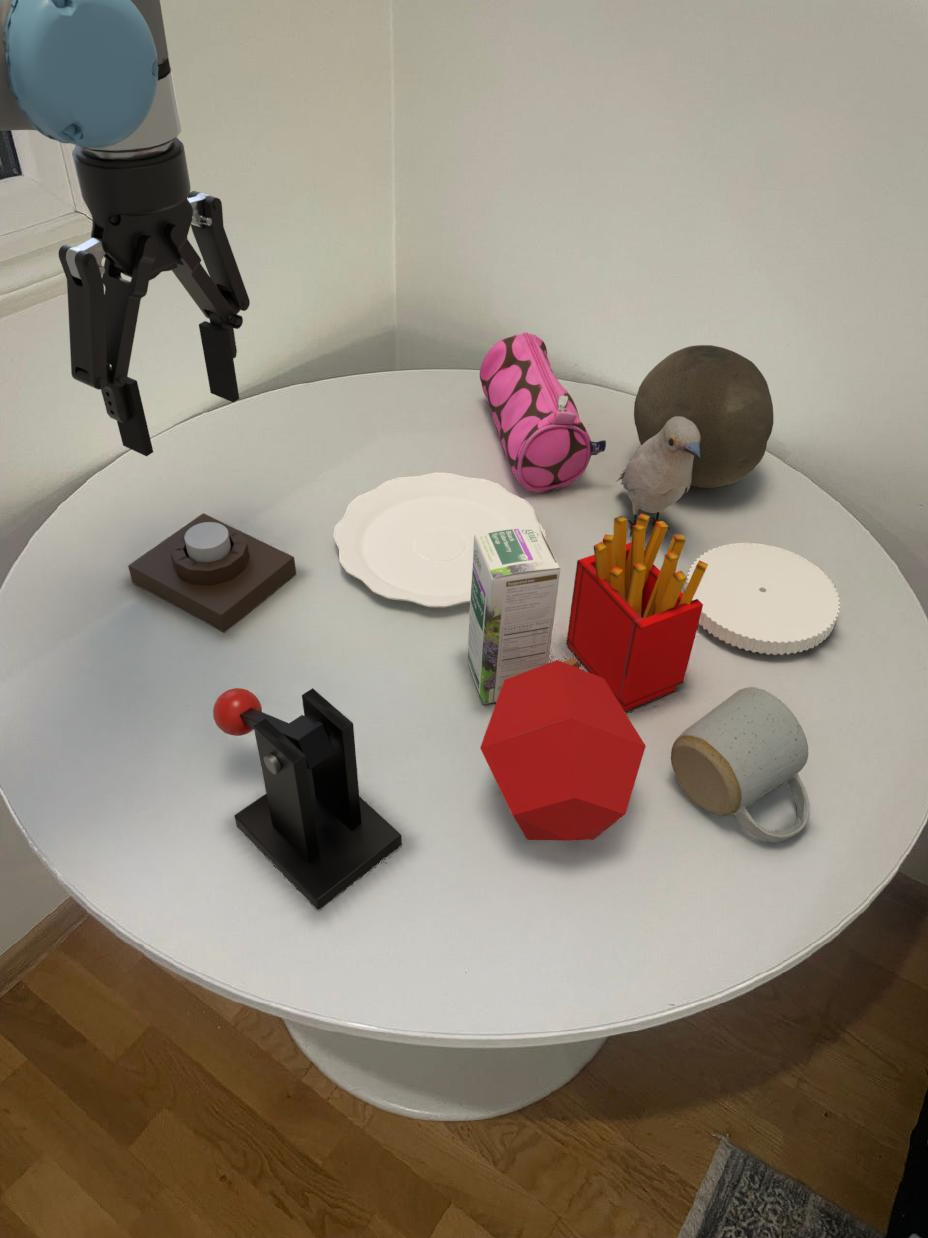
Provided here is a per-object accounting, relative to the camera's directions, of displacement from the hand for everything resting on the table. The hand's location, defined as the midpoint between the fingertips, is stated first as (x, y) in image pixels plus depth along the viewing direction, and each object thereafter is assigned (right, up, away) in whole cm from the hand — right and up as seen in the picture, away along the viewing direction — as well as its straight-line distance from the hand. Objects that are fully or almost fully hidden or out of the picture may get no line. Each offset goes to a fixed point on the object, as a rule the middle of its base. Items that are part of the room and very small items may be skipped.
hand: (183, 421), depth 84 cm
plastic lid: (+51, -16, +11) cm, 55 cm away
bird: (+43, -8, +19) cm, 47 cm away
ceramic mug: (+46, -31, -5) cm, 55 cm away
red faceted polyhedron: (+31, -31, -6) cm, 44 cm away
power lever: (+10, -26, -12) cm, 30 cm away
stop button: (0, -10, +10) cm, 14 cm away
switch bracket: (+13, -33, -9) cm, 36 cm away
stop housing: (0, -13, +12) cm, 18 cm away
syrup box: (+27, -22, +4) cm, 35 cm away
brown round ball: (+49, -1, +26) cm, 55 cm away
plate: (+21, -9, +16) cm, 29 cm away
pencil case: (+31, +3, +30) cm, 44 cm away
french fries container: (+38, -21, +5) cm, 44 cm away
